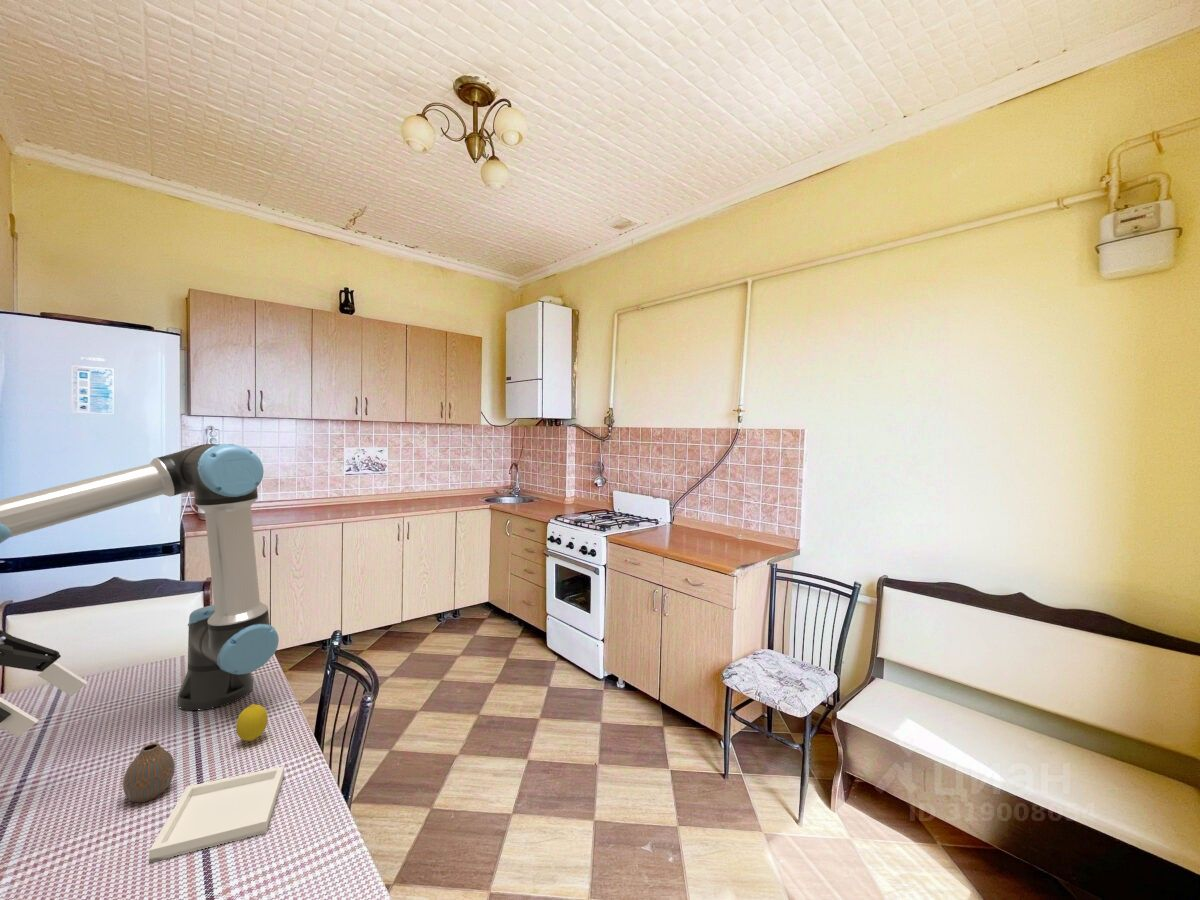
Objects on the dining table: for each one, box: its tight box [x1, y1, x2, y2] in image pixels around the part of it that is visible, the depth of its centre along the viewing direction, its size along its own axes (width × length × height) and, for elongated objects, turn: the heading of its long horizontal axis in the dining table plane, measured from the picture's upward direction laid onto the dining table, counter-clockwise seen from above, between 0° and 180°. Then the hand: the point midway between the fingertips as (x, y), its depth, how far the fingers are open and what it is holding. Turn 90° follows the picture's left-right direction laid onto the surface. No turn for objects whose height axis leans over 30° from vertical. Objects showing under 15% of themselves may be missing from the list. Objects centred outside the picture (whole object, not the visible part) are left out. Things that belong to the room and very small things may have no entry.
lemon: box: [235, 703, 269, 743], centre depth 103 cm, size 6×6×8 cm
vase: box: [122, 742, 176, 803], centre depth 87 cm, size 7×7×9 cm
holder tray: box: [148, 765, 285, 864], centre depth 83 cm, size 15×15×2 cm
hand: (56, 707), depth 82 cm, fingers open, 13 cm apart
